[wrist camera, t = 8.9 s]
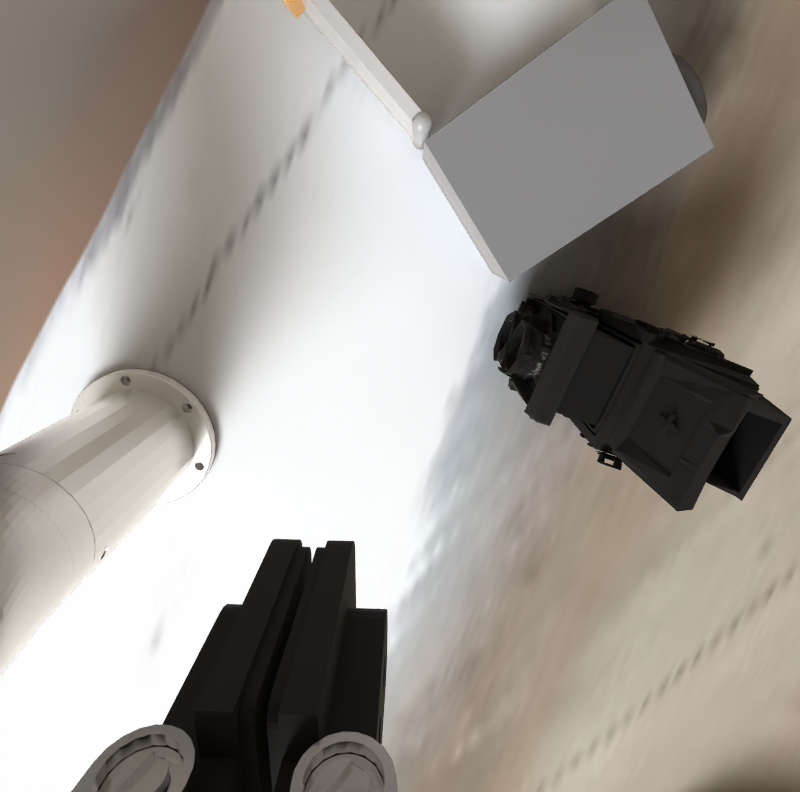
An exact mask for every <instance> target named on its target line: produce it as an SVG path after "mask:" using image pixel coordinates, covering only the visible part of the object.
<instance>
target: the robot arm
mask: <svg viewBox="0 0 800 792" xmlns="http://www.w3.org/2000/svg"><path fill="white" fill-rule="evenodd" d="M129 378H130V379H129ZM189 404H190V405H191V407H190V406H189ZM215 447H216V444H215V434H214V430H213V427H212V423H211V420H210V418H209V416H208V414H207V412H206V410H205V409H204V407H203V406H202V405H201V403H200V402H199V401H198V399H197V398H196V397H195V396H194V395H193V394H192V393H191V392H190V391H189V390H188V389H187V388H186V387H184V386H183V385H181V384H180V383H178V382H177V381H175V380H174V379H171V378H169V377H167V376H165V375H162V374H160V373H156V372H152V371H149V370H141V369H127V370H119V371H116V372H113V373H110V374H107V375H105V376H103V377H101V378H99V379H96V380H95V381H94V382H92V383H91V384H90V385H88V386H87V387H86V388H85V389H84V390H83V391H82V392H81V394H80V395H79V396H78V398H77V400H76V402H75V404H74V406H73V408H72V412H71V415H69V416H67V417H66V418H64V419H62V420H60V421H58V422H56V423H54V424H52V425H50V426H49V427H47V428H45V429H43V430H41V431H39V432H37V433H35V434H33V435H32V436H30V437H28V438H26V439H24V440H22V441H20V442H18V443H17V444H15V445H13V446H11V447H9V448H7V449H5V450H3V451H1V452H0V678H1V677H2V676H3V674H4V673H5V671H6V670H7V668H8V667H9V665H10V664H11V663H12V661H13V660H14V659H15V657H16V656H17V655H18V654H19V652H20V651H21V650H22V648H23V647H24V646H25V644H26V643H27V642H28V641H29V640H30V638H31V637H32V636H33V635H34V634H35V632H36V631H37V630H38V629H39V628H40V627H41V625H42V624H43V623H44V622H45V621H46V620H47V619H48V618H49V616H50V615H51V614H52V613H53V612H54V611H55V610H56V609H57V608H58V607H59V605H60V604H61V603H62V602H63V601H64V600H65V599H66V598H67V597H68V596H69V595H70V594H71V593H72V592H73V591H74V590H75V589H76V587H77V586H78V585H79V584H80V583H81V582H82V581H83V580H84V579H85V578H86V577H87V576H88V575H89V574H90V573H91V572H92V571H93V570H94V569H95V568H96V567H97V566H98V565H99V564H100V563H101V561H102V560H103V559H104V558H105V557H106V556H107V555H108V554H109V553H110V552H111V551H112V550H113V549H114V548H115V547H116V546H117V545H118V544H119V543H120V542H121V541H122V539H123V538H124V537H125V536H126V535H127V534H128V533H129V532H130V531H131V530H132V529H133V528H134V527H135V526H136V525H137V524H138V523H139V522H140V521H141V520H142V518H143V517H144V516H145V515H146V514H147V513H148V512H149V511H150V510H151V509H152V508H153V507H154V506H155V505H156V504H157V503H166V502H170V501H173V500H177V499H179V498H181V497H183V496H185V495H187V494H189V493H190V492H191V491H192V490H194V489H195V488H196V487H197V486H198V485H199V484H200V483H201V482H202V480H203V479H204V478H205V477H206V475H207V473H208V472H209V470H210V468H211V466H212V463H213V460H214V456H215ZM202 463H203V464H202ZM386 666H387V609H362V608H356V579H355V543H354V541H327V544H326V547H325V548H321V547H318V548H317V549H316V552H315V555H314V558H313V561H311V549H310V547H302V543H301V540H291V539H274V540H273V541H272V542H271V544H270V546H269V548H268V551H267V553H266V555H265V557H264V559H263V561H262V563H261V566H260V568H259V570H258V572H257V574H256V576H255V578H254V581H253V583H252V585H251V587H250V589H249V591H248V593H247V596H246V598H245V600H244V602H243V604H242V605H236V604H227V605H226V606H224V607H223V609H222V610H221V612H220V614H219V616H218V618H217V620H216V621H215V623H214V625H213V627H212V629H211V631H210V633H209V635H208V637H207V639H206V641H205V643H204V645H203V647H202V649H201V651H200V653H199V655H198V656H197V658H196V660H195V662H194V664H193V666H192V668H191V670H190V672H189V674H188V676H187V678H186V680H185V682H184V684H183V686H182V688H181V690H180V691H179V693H178V695H177V697H176V699H175V701H174V703H173V705H172V707H171V709H170V711H169V713H168V715H167V717H166V719H165V721H164V723H163V725H152V726H148V727H144V728H140V729H137V730H135V731H133V732H131V733H129V734H127V735H125V736H123V737H121V738H120V739H119V740H117V741H116V742H115V743H113V744H112V745H110V746H109V747H108V748H107V749H106V750H105V751H104V752H103V753H102V754H101V755H100V756H99V757H98V758H97V759H96V760H95V761H94V762H93V764H92V765H91V766H90V768H89V769H88V770H87V772H86V773H85V774H84V776H83V777H82V778H81V780H80V781H79V782H78V783H77V785H76V786H75V787H74V789H73V790H72V791H71V792H398V787H397V778H396V772H395V769H394V765H393V761H392V759H391V757H390V756H389V754H388V753H387V751H386V749H385V748H384V746H382V731H383V716H384V701H385V686H386Z"/></svg>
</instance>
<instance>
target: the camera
mask: <svg viewBox="0 0 800 792" xmlns="http://www.w3.org/2000/svg"><path fill="white" fill-rule="evenodd" d="M529 295H530V296H531V297H533V298H528V299H527V301H526V303H525V302H523V301H522V303H521V305H520V307H519V310H518V312H517V311H514V312H512V313H510V314H509V315H507V317H506V319H505V321H504V323H503V325H502V327H501V329H500V332H499V334H498V337H497V340H496V343H495V347H494V360H495V361H499V362H500V365H501V367H502V368H500V367H498V368H499V370H500V371H501V372H503V373H504V374H506V375H507V376H509V377H510V378H511V379H510V378H509V385H508V386H509V388H510V389H511V390H514V391H517V392H518V393H519V395H520V396H521V397H522V399H523V400H524V401H525V403H526V404H527V407H526V409H525V411H524V412H526V413H527V414H528V415H529V416H530V418H531V419H534V420H535V421H536V422H538V423H542V424H545V425H548V426H550V424H551V422H552V420H553V418H554V416H555V413H556V412H557V413H559V414H563V416H565V417H567V418H570V419H571V421H572V422H573V423H574V424H575V425H576V427H577V428H578V429H579V430H580V432H581V433H580V435H581V437H584V438H586V439H587V440H588V441H589V443H587V444H588V445H589V446H591V447H594V448H595V449H597V450H600V451H603V452H600V451H598V452H599V453H598V452H597V453H598V454H599V458H598V460H597V462H599V463H601V464H604V465H607V466H610V467H613V468H616V469H619V470H621V466H622V462H623V463H624V464H625V465H627V466H628V467H629V468H630V469H631V470H632V471H633V472H634V473H635V474H637V475H638V476H639V477H640V478H641V479H642V480H643V481H644V482H645V483H647V484H648V485H649V486H650V487H651V488H652V489H653V490H654V491H655V492H656V493H658V494H659V495H660V496H661V497H662V498H663V499H664V500H665V501H666V502H668V503H669V504H670V505H671V506H672V507H673V508H674V509H675V510H676V511H684V510H692V509H693V507H694V505H695V503H696V501H697V499H698V497H699V495H700V493H701V491H702V489H703V487H704V484H705V482H707V483H709V484H711V485H713V486H715V487H717V488H719V489H721V490H723V491H725V492H728V493H730V494H732V495H734V496H736V497H737V498H739V499H740V500H741V501H742V500H743V498H744V496H745V495H746V493H747V491H748V490H749V488H750V487H751V485H752V483H753V482H754V480H755V478H756V477H757V475H758V474H759V472H760V470H761V469H762V467H763V465H764V464H765V462H766V461H767V459H768V457H769V456H770V454H771V452H772V451H773V449H774V448H775V446H776V444H777V443H778V441H779V440H780V438H781V436H782V435H783V433H784V431H785V430H786V428H787V427H788V425H789V423H790V422H791V420H792V419H791V418H790V417H789V416H787V415H786V414H785V413H784V412H782V411H781V410H780V409H779V408H777V407H776V406H775V405H774V404H772V403H771V402H770V401H768V400H767V399H766V398H765V397H763V395H762V394H760V393H758V390H759V388H758V387H759V385H758V384H757V383H756V382H755V381H754V380H753V379H752V378H751V377H750V375H751V374H752V372H753V370H751V369H748V368H746V367H743V366H741V365H738V364H736V363H734V362H731V361H729V360H726V359H724V354H723V353H722V352H721V351H720V350H718V349H716V348H713V347H714V345H715V344H714V343H710V342H707V341H705V340H704V342H706V343H708V344H709V346H708V345H705V344H703V343H700V342H697V339H700V338H697V336H696V338H695V336H692V335H691V336H692V337H691V338H690V337H688V336H687V335H685V334H683V335H682V334H680V333H678V332H676V331H673V330H671V329H668V328H666V329H663V328H661V329H660V328H658V327H655V326H653V325H650V324H648V323H645V322H642V321H640V320H634V319H631V318H628V317H626V316H623V315H620V314H617V313H614V312H611V311H608V310H604V309H600V310H597V309H594V308H591V307H590V306H591V305H594V306H595V304H596V302H597V300H598V298H599V296H598V295H597V294H595V293H593V292H591V291H588V290H585V289H582V288H579V287H576V288H575V290H574V293H573V296H572V298H573V299H576V301H572V300H571V298H568V297H565V296H561V297H560V298H557V297H554V296H552V295H550V294H548V295H547V296H546V297H545V298H544V297H541V296H538V295H536V294H533V293H529ZM686 340H689V341H688V342H686ZM700 340H702V339H700ZM685 342H686V343H685ZM711 346H713V347H711ZM605 452H606V453H609V454H612V455H615V456H617V457H615V456H612V455H609V454H606V453H605ZM605 458H606V459H609V460H612V461H614V463H613V465H610V464H607V463H605V462H604V460H605ZM614 459H615V460H614Z"/></svg>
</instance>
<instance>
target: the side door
mask: <svg viewBox="0 0 800 792" xmlns="http://www.w3.org/2000/svg"><path fill="white" fill-rule="evenodd" d="M283 2H284V4H285V5H286V7H287V8H288V9H289V10H290V11H291V12H292V14H293V15H294V16H295V17H296V18H298V17H299V16H300V15H301V13H302V12H304V13H305V15H306V16H307V17H308V18H309V19H310V20H311V22H312V23H313V24H314V25H315V26H316V27H317V29H318V30H319V31H320V32H321V33H322V34H323V36H324V37H325V38H326V39H327V40H328V41H329V43H330V44H331V45H332V46H333V47H334V48H335V50H336V51H337V52H338V53H339V54H340V55H341V57H342V58H343V59H344V60H345V61H346V62H347V64H348V65H349V66H350V67H351V68H352V69H353V71H354V72H355V73H356V74H357V75H358V76H359V78H360V79H361V80H362V81H363V82H364V83H365V85H366V86H367V87H368V88H369V89H370V90H371V92H372V93H373V94H374V95H375V96H376V97H377V99H378V100H379V101H380V102H381V103H382V104H383V106H384V107H385V108H386V109H387V110H388V112H389V113H390V114H391V115H392V116H393V117H394V119H395V120H396V121H397V122H398V123H399V124H400V126H401V127H402V128H403V129H404V130H405V131H406V133H407V134H408V135H409V136H410V137H411V138H412V140H413V144H414V146H415V147H416V148H417V149H419V150H423V149H424V141H425V140H426V139H428V138H429V137H430V133H431V126H432V119H431V116H430V115H429V114H428V113H427V112H425V111H421V109H420V108H419V107H418V106H417V105H416V104H415V102H414V101H413V100H412V99H411V98H410V96H409V95H408V94H407V93H406V92H405V90H404V89H403V88H402V87H401V86H400V84H399V83H398V82H397V81H396V80H395V79H394V77H393V76H392V75H391V74H390V73H389V71H388V70H387V69H386V68H385V67H384V65H383V64H382V63H381V62H380V61H379V59H378V58H377V57H376V56H375V55H374V54H373V52H372V51H371V50H370V49H369V48H368V46H367V45H366V44H365V43H364V42H363V40H362V39H361V38H360V37H359V36H358V34H357V33H356V32H355V31H354V30H353V28H352V27H351V26H350V25H349V24H348V23H347V21H346V20H345V19H344V18H343V17H342V15H341V14H340V13H339V12H338V11H337V9H336V8H335V7H334V6H333V5H332V3H331V2H330V1H329V0H283Z"/></svg>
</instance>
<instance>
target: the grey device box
mask: <svg viewBox="0 0 800 792" xmlns="http://www.w3.org/2000/svg"><path fill="white" fill-rule="evenodd" d="M706 115H707V104H706V98H705V94H704V91H703V88H702V85H701V83H700V81H699V79H698V77H697V75H696V73H695V72H694V71H693V69H692V68H691V67H690V65H689V64H688V63H687V62H686V61H685V60H683V59H682V58H681V57H679V56H677V55H675V54H672V53H671V51H670V49H669V46H668V44H667V42H666V40H665V38H664V35H663V33H662V31H661V29H660V27H659V24H658V22H657V20H656V18H655V16H654V14H653V11H652V9H651V7H650V5H649V3H648V0H612V1H611V2H610V3H608V4H607V5H606V6H604V7H603V8H602V9H600V10H599V11H598V12H596V13H595V14H594V15H592V16H591V17H590V18H588V19H587V20H586V21H584V22H583V23H582V24H580V25H579V26H578V27H576V28H575V29H574V30H572V31H571V32H570V33H568V34H567V35H566V36H564V37H563V38H562V39H560V40H559V41H558V42H556V43H555V44H554V45H552V46H551V47H550V48H548V49H547V50H546V51H544V52H543V53H542V54H540V55H539V56H537V57H536V58H535V59H533V60H532V61H531V62H529V63H528V64H527V65H525V66H524V67H523V68H521V69H520V70H519V71H517V72H516V73H515V74H513V75H512V76H511V77H509V78H508V79H507V80H505V81H504V82H503V83H501V84H500V85H499V86H497V87H496V88H495V89H493V90H492V91H491V92H489V93H488V94H487V95H485V96H484V97H483V98H481V99H480V100H479V101H477V102H476V103H475V104H473V105H472V106H471V107H469V108H468V109H467V110H465V111H464V112H463V113H461V114H460V115H459V116H457V117H456V118H455V119H453V120H452V121H451V122H449V123H448V124H447V125H445V126H444V127H443V128H441V129H440V130H439V131H437V132H436V133H435V134H433V135H432V136H431V137H429V138H428V139H426V140H425V141H424V150H423V160H424V162H425V164H426V165H427V167H428V169H429V170H430V172H431V174H432V175H433V177H434V179H435V180H436V182H437V183H438V185H439V187H440V188H441V190H442V192H443V193H444V195H445V197H446V198H447V200H448V201H449V203H450V205H451V206H452V208H453V210H454V211H455V213H456V215H457V216H458V218H459V220H460V221H461V223H462V224H463V226H464V228H465V229H466V231H467V233H468V234H469V236H470V238H471V239H472V241H473V243H474V244H475V246H476V247H477V249H478V251H479V252H480V254H481V256H482V257H483V259H484V261H485V262H486V264H487V265H488V267H489V269H490V270H491V272H492V273H494V274H495V275H497V276H499V277H501V278H503V279H505V280H506V281H508V282H510V281H512V280H513V279H515V278H516V277H518V276H519V275H521V274H522V273H524V272H525V271H527V270H528V269H530V268H531V267H533V266H534V265H536V264H537V263H539V262H540V261H542V260H544V259H545V258H547V257H548V256H550V255H551V254H553V253H554V252H556V251H557V250H559V249H560V248H562V247H563V246H565V245H566V244H568V243H569V242H571V241H572V240H574V239H575V238H577V237H579V236H580V235H582V234H583V233H585V232H586V231H588V230H589V229H591V228H592V227H594V226H595V225H597V224H598V223H600V222H601V221H603V220H604V219H606V218H607V217H609V216H611V215H612V214H614V213H615V212H617V211H618V210H620V209H621V208H623V207H624V206H626V205H627V204H629V203H630V202H632V201H633V200H635V199H636V198H638V197H639V196H641V195H643V194H644V193H646V192H647V191H649V190H650V189H652V188H653V187H655V186H656V185H658V184H659V183H661V182H662V181H664V180H665V179H667V178H668V177H670V176H671V175H673V174H674V173H676V172H678V171H679V170H681V169H682V168H684V167H685V166H687V165H688V164H690V163H691V162H693V161H694V160H696V159H697V158H699V157H700V156H702V155H703V154H705V153H706V152H708V151H710V150H711V149H713V148H714V145H713V143H712V141H711V139H710V137H709V134H708V132H707V130H706V128H705V126H704V123H705V120H706Z"/></svg>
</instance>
